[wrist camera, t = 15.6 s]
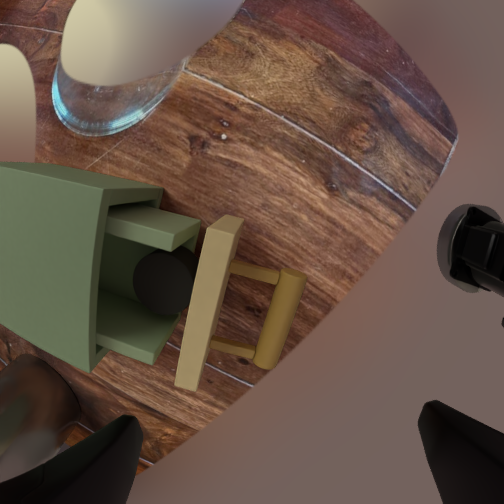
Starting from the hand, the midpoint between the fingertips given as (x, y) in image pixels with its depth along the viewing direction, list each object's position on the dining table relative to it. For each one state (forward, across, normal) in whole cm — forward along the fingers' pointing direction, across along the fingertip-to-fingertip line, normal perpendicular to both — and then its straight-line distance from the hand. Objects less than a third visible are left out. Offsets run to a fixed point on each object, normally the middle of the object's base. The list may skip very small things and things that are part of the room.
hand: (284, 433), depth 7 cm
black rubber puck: (+11, +6, -2) cm, 13 cm away
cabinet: (+13, +13, -4) cm, 19 cm away
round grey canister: (+13, +25, +12) cm, 31 cm away
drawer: (+12, +6, -2) cm, 13 cm away
